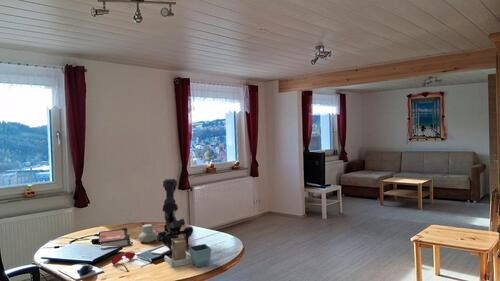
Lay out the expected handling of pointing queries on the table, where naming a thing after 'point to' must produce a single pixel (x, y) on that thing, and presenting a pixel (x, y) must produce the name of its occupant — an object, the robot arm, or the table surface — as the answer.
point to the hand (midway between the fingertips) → (179, 248)
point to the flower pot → (200, 254)
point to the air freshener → (147, 234)
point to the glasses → (127, 255)
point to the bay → (179, 261)
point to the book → (114, 237)
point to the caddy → (178, 249)
